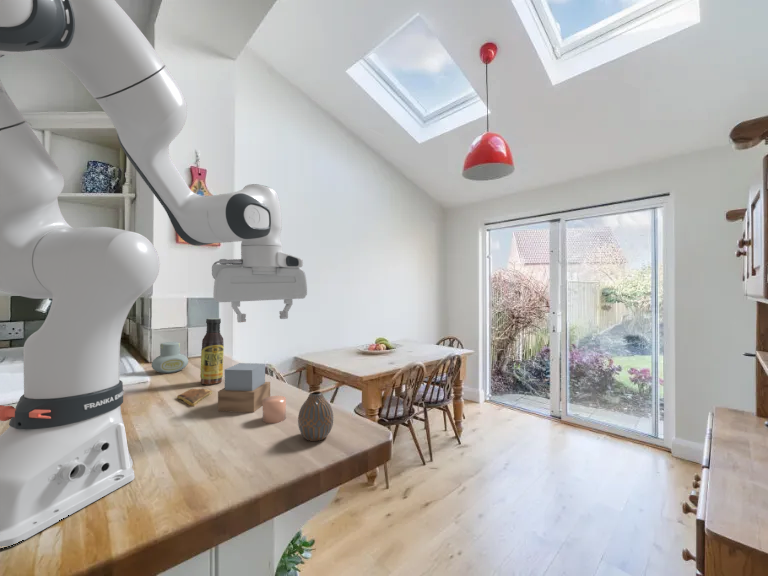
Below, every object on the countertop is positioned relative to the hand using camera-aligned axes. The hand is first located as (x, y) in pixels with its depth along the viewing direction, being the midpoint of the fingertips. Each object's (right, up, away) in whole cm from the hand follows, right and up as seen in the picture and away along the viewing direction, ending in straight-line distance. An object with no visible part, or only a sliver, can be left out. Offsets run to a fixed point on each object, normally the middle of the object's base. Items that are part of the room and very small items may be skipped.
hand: (263, 320), depth 79 cm
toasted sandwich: (-22, -23, +13) cm, 34 cm away
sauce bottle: (-26, -22, +28) cm, 44 cm away
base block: (-7, -22, +8) cm, 25 cm away
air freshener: (-47, -22, +42) cm, 67 cm away
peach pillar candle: (+3, -22, -1) cm, 22 cm away
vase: (+14, -22, -10) cm, 28 cm away
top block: (-7, -17, +8) cm, 20 cm away
